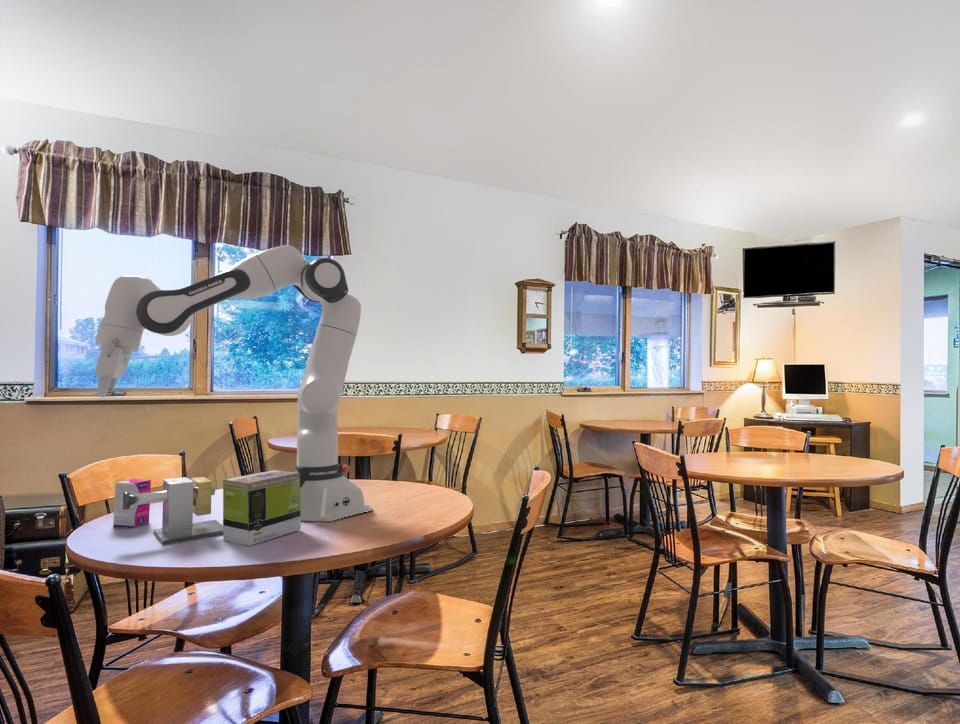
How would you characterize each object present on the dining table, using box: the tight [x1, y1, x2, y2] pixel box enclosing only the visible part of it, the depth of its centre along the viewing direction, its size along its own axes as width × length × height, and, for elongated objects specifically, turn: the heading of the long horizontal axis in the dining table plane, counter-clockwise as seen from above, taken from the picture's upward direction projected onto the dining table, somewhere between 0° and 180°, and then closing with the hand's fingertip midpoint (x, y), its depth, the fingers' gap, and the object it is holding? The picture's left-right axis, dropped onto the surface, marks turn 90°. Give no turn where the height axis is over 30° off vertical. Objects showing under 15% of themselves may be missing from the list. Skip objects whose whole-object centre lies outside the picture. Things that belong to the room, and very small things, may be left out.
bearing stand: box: [153, 476, 223, 546], centre depth 128 cm, size 14×12×13 cm
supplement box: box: [112, 478, 152, 529], centre depth 136 cm, size 6×6×12 cm
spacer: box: [190, 476, 212, 517], centre depth 130 cm, size 3×8×8 cm, turn 41°
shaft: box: [121, 484, 216, 510], centre depth 126 cm, size 19×4×4 cm, turn 130°
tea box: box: [222, 469, 302, 547], centre depth 127 cm, size 15×10×15 cm
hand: (103, 395), depth 125 cm, fingers open, 8 cm apart
